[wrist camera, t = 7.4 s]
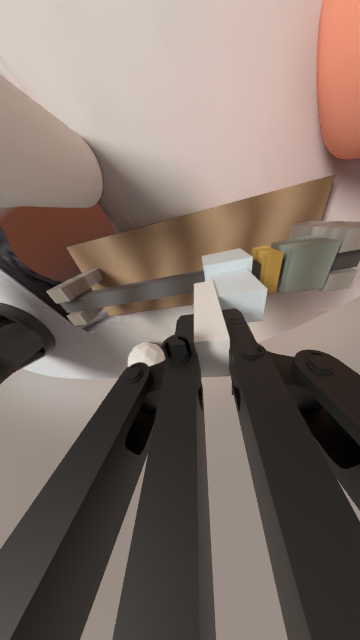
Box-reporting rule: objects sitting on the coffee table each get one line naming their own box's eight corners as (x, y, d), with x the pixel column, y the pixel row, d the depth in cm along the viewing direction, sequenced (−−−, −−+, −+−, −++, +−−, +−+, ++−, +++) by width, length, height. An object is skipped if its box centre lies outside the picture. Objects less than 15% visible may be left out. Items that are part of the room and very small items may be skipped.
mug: (68, 103, 13) (-287, -222, 3) (117, 189, 16) (8, 148, 7) (16, 176, 16) (-236, 116, 7) (66, 235, 20) (-56, 251, 10)
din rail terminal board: (112, 312, 27) (83, 346, 20) (72, 246, 20) (7, 261, 13) (295, 285, 21) (346, 319, 14) (325, 177, 14) (454, 138, 7)
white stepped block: (205, 289, 18) (212, 334, 11) (201, 256, 15) (207, 286, 9) (238, 284, 17) (268, 328, 10) (239, 248, 15) (279, 274, 8)
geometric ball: (162, 341, 35) (174, 371, 31) (133, 354, 35) (142, 387, 31) (152, 330, 28) (166, 368, 25) (115, 347, 28) (124, 388, 24)
